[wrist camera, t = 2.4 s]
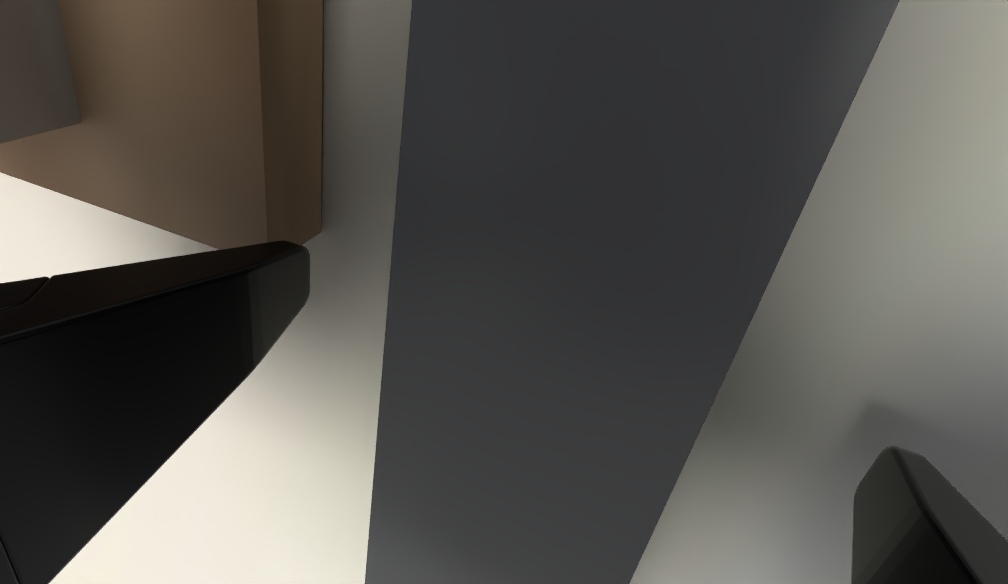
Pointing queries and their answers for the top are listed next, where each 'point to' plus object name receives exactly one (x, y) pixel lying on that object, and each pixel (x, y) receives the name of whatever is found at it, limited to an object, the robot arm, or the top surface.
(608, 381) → the frame bar
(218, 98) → the display stand
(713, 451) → the top surface
